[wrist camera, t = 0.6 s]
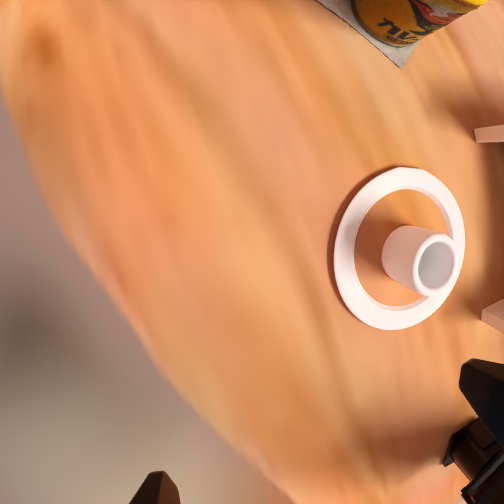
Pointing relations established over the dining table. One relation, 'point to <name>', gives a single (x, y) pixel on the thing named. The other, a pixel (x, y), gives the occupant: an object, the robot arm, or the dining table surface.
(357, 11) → the condiment
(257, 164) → the dining table surface
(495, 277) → the dining table surface
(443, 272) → the white ring with cylinder
